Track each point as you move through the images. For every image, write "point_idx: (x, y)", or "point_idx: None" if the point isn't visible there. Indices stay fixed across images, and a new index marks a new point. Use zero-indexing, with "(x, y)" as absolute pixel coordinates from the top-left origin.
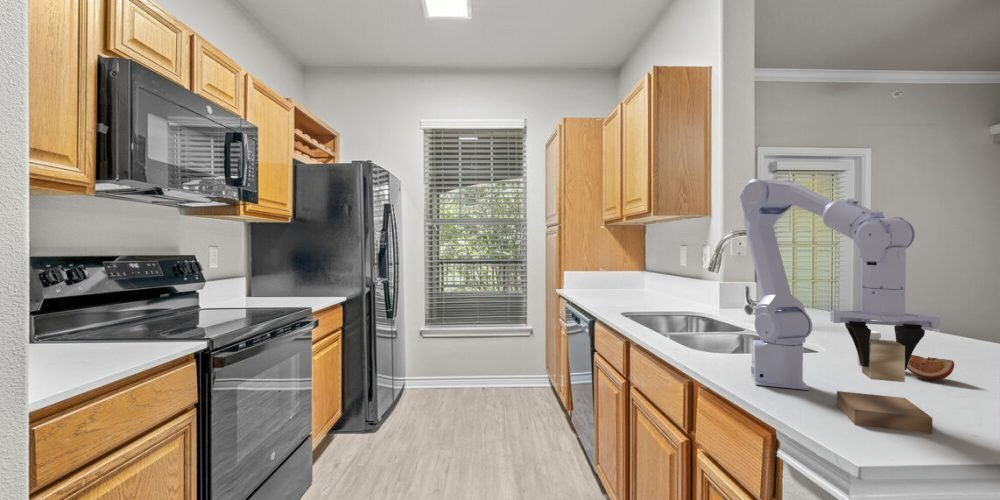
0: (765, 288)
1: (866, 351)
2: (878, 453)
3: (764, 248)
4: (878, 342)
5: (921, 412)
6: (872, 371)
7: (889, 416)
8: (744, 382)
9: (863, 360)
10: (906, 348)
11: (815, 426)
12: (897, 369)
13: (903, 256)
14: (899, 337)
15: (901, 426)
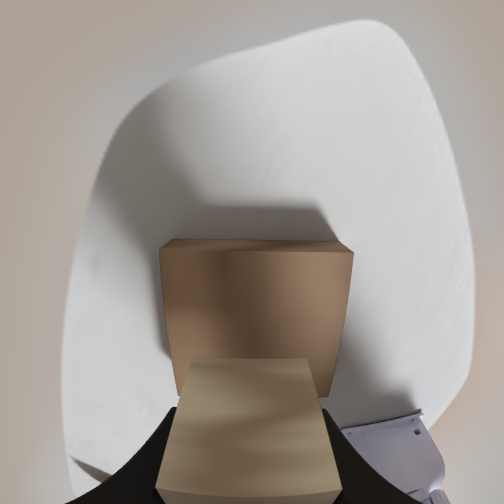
0: None
1: (341, 457)
2: (345, 62)
3: None
4: None
5: (171, 291)
6: (307, 379)
7: (264, 248)
8: (430, 416)
9: (336, 425)
10: (149, 479)
11: (426, 194)
12: (209, 392)
13: None
14: None
15: (235, 241)
